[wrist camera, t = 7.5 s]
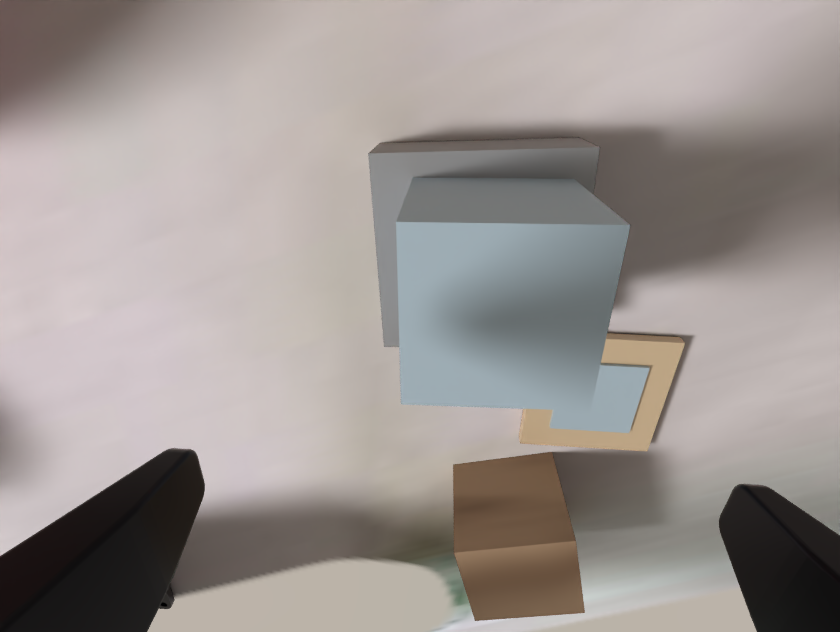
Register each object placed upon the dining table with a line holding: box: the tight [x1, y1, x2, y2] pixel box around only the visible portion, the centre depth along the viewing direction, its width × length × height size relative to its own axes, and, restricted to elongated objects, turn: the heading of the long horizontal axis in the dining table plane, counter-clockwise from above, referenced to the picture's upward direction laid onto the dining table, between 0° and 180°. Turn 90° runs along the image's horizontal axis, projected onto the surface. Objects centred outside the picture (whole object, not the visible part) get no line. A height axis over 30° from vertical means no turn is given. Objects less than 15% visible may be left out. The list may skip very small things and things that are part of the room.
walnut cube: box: [453, 452, 585, 621], centre depth 22 cm, size 5×5×5 cm
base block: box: [368, 137, 600, 347], centre depth 17 cm, size 7×7×3 cm
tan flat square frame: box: [519, 333, 685, 451], centre depth 20 cm, size 6×6×1 cm
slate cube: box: [396, 177, 630, 411], centre depth 13 cm, size 5×5×5 cm
